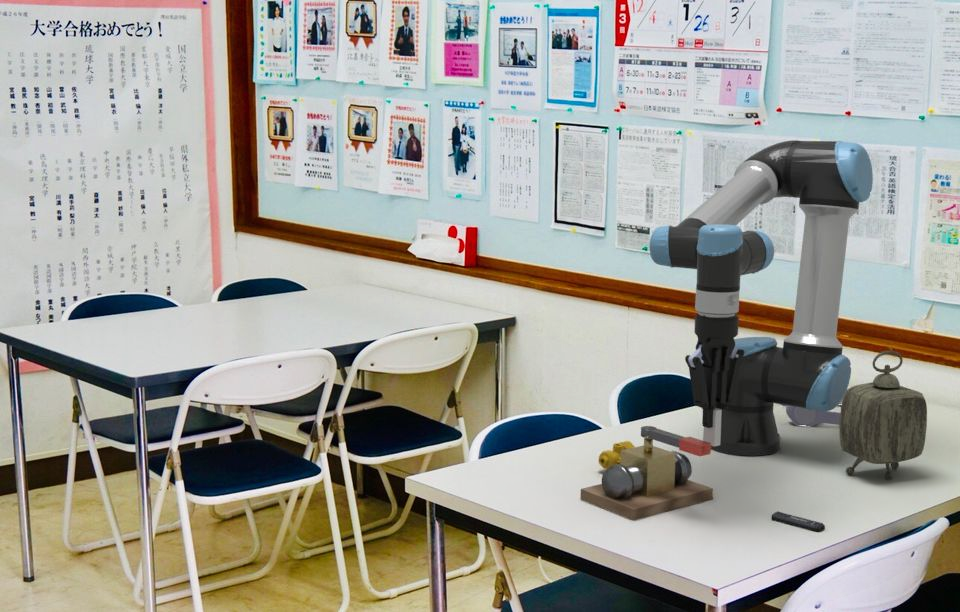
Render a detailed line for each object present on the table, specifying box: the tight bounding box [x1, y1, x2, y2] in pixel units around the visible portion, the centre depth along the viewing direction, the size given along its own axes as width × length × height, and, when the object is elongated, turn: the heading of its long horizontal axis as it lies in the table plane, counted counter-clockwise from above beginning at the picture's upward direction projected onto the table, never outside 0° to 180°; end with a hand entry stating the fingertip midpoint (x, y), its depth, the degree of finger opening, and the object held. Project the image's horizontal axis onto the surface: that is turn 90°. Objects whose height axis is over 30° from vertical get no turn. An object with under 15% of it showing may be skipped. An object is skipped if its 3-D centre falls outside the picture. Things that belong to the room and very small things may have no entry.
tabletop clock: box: [838, 350, 928, 481], centre depth 238 cm, size 14×9×25 cm, turn 111°
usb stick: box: [771, 511, 826, 533], centre depth 213 cm, size 10×3×2 cm, turn 46°
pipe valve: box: [601, 437, 693, 499], centre depth 224 cm, size 18×7×10 cm, turn 127°
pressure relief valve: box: [598, 440, 636, 471], centre depth 241 cm, size 6×12×10 cm
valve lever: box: [640, 425, 712, 458], centre depth 218 cm, size 15×3×2 cm, turn 37°
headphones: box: [785, 399, 843, 427], centre depth 285 cm, size 22×7×20 cm
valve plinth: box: [580, 479, 714, 521], centre depth 225 cm, size 20×14×2 cm
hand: (711, 443), depth 218 cm, fingers closed
